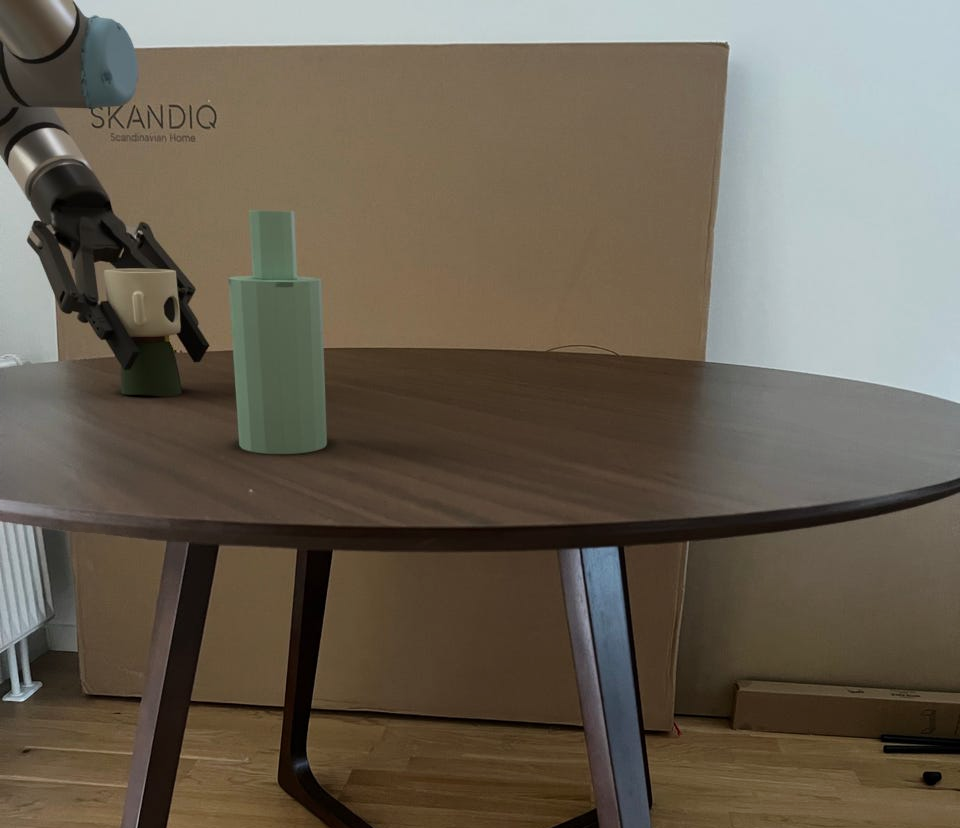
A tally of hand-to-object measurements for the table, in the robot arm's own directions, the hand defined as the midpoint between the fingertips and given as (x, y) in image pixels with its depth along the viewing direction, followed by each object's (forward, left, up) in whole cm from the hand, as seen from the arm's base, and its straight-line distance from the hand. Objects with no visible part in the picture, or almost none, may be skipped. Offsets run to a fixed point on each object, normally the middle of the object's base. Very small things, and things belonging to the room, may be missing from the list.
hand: (167, 357), depth 107 cm
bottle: (+6, -27, -5) cm, 28 cm away
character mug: (-2, +3, -5) cm, 6 cm away
